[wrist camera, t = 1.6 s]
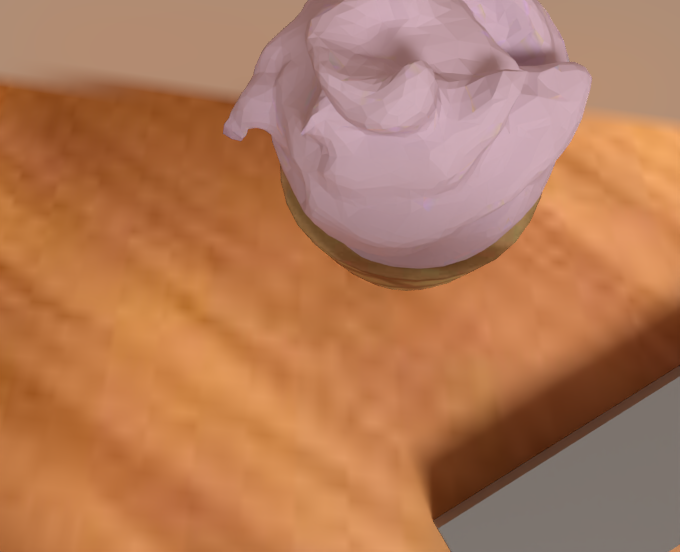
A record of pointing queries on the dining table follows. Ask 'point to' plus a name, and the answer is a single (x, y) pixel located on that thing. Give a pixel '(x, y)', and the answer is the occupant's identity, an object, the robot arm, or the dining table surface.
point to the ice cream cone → (415, 129)
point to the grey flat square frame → (587, 487)
